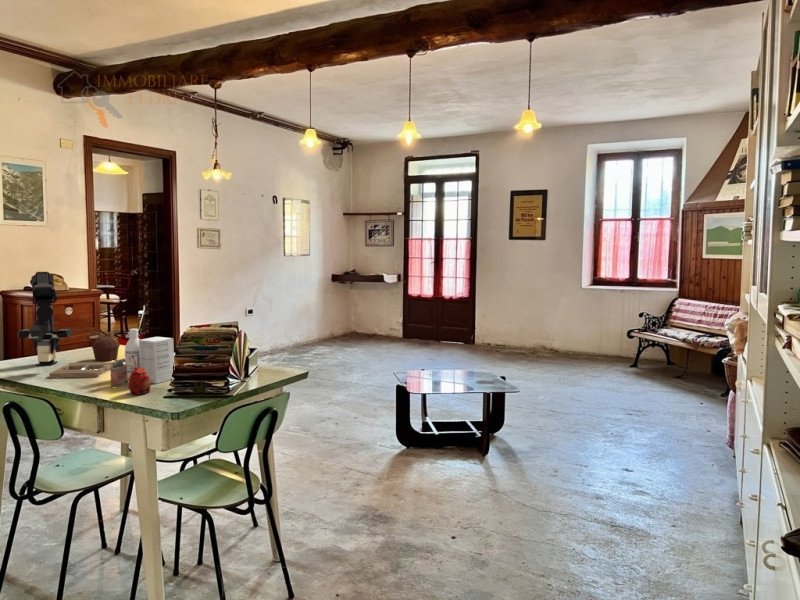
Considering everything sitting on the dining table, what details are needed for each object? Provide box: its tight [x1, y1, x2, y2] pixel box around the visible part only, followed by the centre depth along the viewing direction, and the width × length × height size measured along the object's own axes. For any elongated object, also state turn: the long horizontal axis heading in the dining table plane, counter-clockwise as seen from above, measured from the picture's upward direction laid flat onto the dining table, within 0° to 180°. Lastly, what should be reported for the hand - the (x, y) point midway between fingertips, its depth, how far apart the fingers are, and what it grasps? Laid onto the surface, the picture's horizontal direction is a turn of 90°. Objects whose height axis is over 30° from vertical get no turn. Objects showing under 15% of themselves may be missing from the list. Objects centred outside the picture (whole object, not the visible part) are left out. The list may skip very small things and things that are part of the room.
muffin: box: [91, 337, 121, 362], centre depth 254 cm, size 12×11×10 cm
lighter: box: [109, 358, 129, 388], centre depth 210 cm, size 8×3×10 cm, turn 168°
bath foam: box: [124, 328, 141, 380], centre depth 221 cm, size 7×7×20 cm
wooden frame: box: [48, 361, 114, 379], centre depth 229 cm, size 19×18×2 cm
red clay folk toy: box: [128, 353, 152, 396], centre depth 199 cm, size 8×7×15 cm
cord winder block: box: [36, 340, 56, 363], centre depth 226 cm, size 6×4×8 cm, turn 8°
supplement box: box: [139, 336, 175, 384], centre depth 218 cm, size 10×9×17 cm
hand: (46, 353), depth 227 cm, fingers closed on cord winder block, 4 cm apart
